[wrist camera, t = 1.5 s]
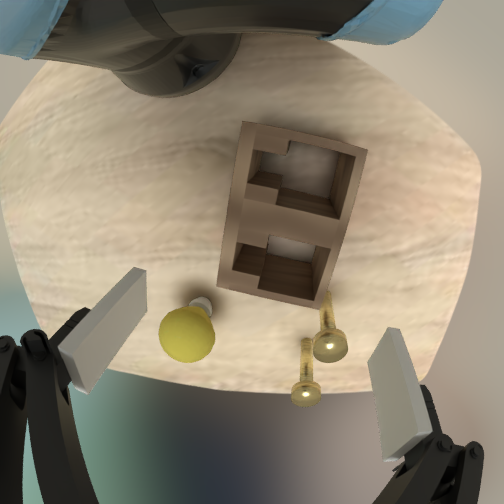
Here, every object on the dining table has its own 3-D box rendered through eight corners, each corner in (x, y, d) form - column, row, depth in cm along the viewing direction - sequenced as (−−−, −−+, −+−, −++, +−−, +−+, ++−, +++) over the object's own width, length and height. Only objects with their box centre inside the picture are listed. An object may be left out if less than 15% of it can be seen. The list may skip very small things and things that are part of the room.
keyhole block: (256, 124, 28) (242, 121, 20) (349, 145, 27) (367, 149, 20) (233, 252, 34) (216, 286, 27) (315, 271, 33) (319, 309, 26)
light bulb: (213, 276, 36) (186, 324, 27) (235, 317, 38) (217, 370, 29) (171, 289, 38) (138, 334, 28) (194, 327, 40) (169, 376, 31)
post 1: (298, 331, 37) (295, 387, 28) (321, 335, 37) (325, 392, 28) (291, 348, 39) (287, 404, 29) (314, 352, 38) (315, 408, 29)
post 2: (315, 281, 34) (319, 334, 25) (341, 286, 34) (353, 340, 24) (307, 303, 35) (308, 359, 26) (332, 309, 35) (340, 365, 26)
